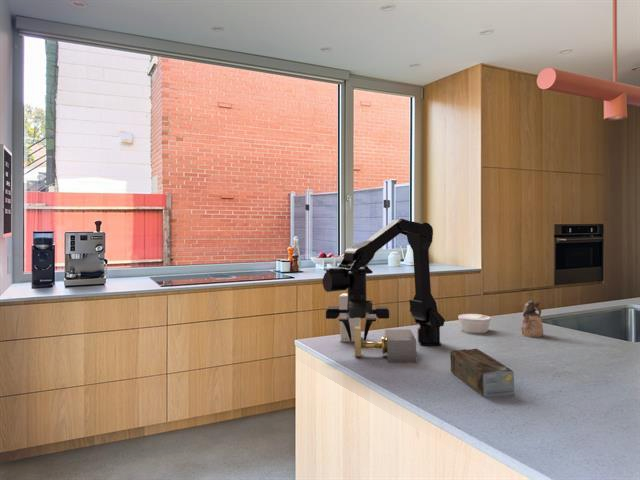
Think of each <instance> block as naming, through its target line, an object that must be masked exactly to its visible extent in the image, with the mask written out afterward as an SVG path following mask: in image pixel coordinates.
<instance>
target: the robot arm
mask: <svg viewBox="0 0 640 480" xmlns="http://www.w3.org/2000/svg"><path fill="white" fill-rule="evenodd" d="M399 235H403V236H406V238H407V244H409V247H410V248H411V250H412V258H413V259H412V260H413V273H414V291H415V292H414V294H415V295H414V296H413V298H412V299H409V300H408V302H409V312H410V313H411V316H412V317H413V319H414V323H415V324H418V328H417V329H416V330H417V332H416V333H417V342H418V343H419V345H420V346H441V345H442V343H441V337H440V336H441V335H440V334H441V330H440V329H441V327H444V324H445V323H446V321H445V320H446V319H445V318H444V317H443V316H442V314H440V313H439V310H438V305H437V302H436V300H435V298H434V296H433V295H432V289H431V288H432V286H431V285H432V284H431V273H430V271H431V269H430V258H429V257H430V254H429V249H430V247H431V245H432V243H433V238H434V236H433V235H434V229H433V226H432V225H431V224H430V223H429V222H416V221H411V220H408V219H404V218H394V219H392V220H391V221H390V222H389V223H388V224H386V225H385V226H383V227H382V228H380V230H378V231H377V232H376V233H374V234H373V235H371V236H370V237H369V238H368V239H366V240H364V241H362V242H359V243H356V244H354V245H351V246H349V247H348V248H346V249H345V251H344V253H343V257H342V259H341V260H340V262H339V264H338V265H337V266H336V268H330V267H329V268H328V267H327V268H325V273H324V275H323V278H322V285H323V286H322V287H323V290H324V291H325V292H326V293H331V292H342V291H346V290H347V291H346V293H348V303H347V309H340V305H339V306H335V305H334V306H328V307H326V309H325V319H329V320H333V319H334V320H336V319H337V318H338V321H339V322H340V321H342V322H343V324H344V326H345V328H346V330H347V333H348V336H349V339H350V341H352V338H351V328H350V321H349V317H350V318H360V319H365V322H364V332H363V342H367V341H366V340H367V337H368V335H369V330H370V328H371V325H372V324H373V322H376V321H377V319H378V320H379V319H380V320H381V319H390V310H389V308H388V307H387V306H386V305H384V306H383V305H376V306H374V308H373V300H368V299H367V298H368V297H367V296H368V294H367V293H368V292H367V291H368V290H367V274H368V275H369V274H373V272H374V271H373V270H372V269H370V268H369V266H368V264H369V263H371V261H372V260H373V259H374V256H375V255H376V253H377V252H378V251H379V250H380V249H382V248H383V247H384V246H386V245H387V244H388V243H390V241H392V240H393V239H395V238H396V237H397V236H399ZM348 315H349V316H348Z"/></svg>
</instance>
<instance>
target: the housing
mask: <svg viewBox="0 0 640 480" xmlns="http://www.w3.org/2000/svg"><path fill="white" fill-rule="evenodd" d="M384 337H385V338H387V353H385V356H386V360H387V364H390V363H392V364H393V363H394V364H395V363H396V364H397V363H398V364H399V363H400V364H402V363H403V364H404V363H406V364H408V363H409V364H411V363H413V364H414V363H416V364H417V339H416V337H415V336H414V332H413V331H412V330H411V329H409V328H407V329H384Z"/></svg>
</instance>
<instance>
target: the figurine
mask: <svg viewBox="0 0 640 480" xmlns="http://www.w3.org/2000/svg"><path fill="white" fill-rule="evenodd" d="M540 304H541V302H540V301H539V300H538V301H536V302H534V301H533V300H530V301H529V300H528V301H527V302H526V303H525V304H524V307H523V308H522V316H523V319H522V325H521V330H520V331H521V332H520V334H521V336H523V337H526V336H527V337H528V338H541V337H543V336H544V327H543V325H544V324H543V322H542V318H541V314H542V309H541V307H539V306H540ZM536 311H537V312H536Z"/></svg>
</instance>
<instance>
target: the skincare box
mask: <svg viewBox="0 0 640 480" xmlns="http://www.w3.org/2000/svg"><path fill="white" fill-rule="evenodd" d="M338 299H339V301H338V302H339V309H347V303H348V293H347V292H346V293H342V294H340V295H339V297H338ZM348 316H349V315H348ZM349 321H350V328H351V338H352V341H350V339H349V336H348V333H347V330H346V328H345V326H344V324H343V322H342V321H339V329H340V333H339V334H340V342H348V343H351V342H354V343H355V327H361V324H362V323H361V322H362V321H361V318H350V317H349Z"/></svg>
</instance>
